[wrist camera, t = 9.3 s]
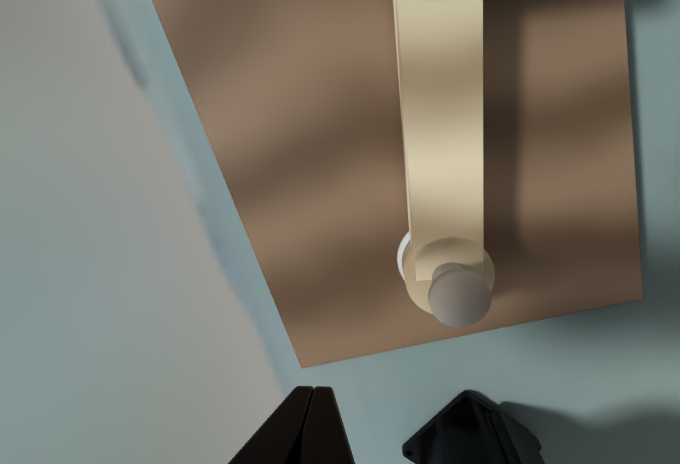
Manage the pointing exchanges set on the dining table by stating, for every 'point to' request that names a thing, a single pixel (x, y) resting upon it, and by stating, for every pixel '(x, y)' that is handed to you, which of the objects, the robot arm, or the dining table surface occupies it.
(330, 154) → the base board
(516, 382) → the dining table surface
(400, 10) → the link
